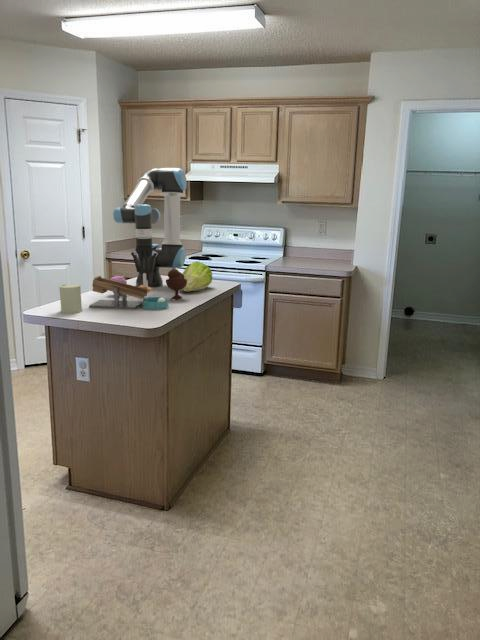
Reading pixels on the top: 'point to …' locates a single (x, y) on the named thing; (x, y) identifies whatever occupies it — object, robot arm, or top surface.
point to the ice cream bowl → (176, 282)
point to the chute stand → (116, 302)
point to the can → (70, 298)
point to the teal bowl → (154, 303)
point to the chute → (119, 287)
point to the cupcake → (119, 280)
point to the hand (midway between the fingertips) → (145, 286)
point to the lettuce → (197, 276)
